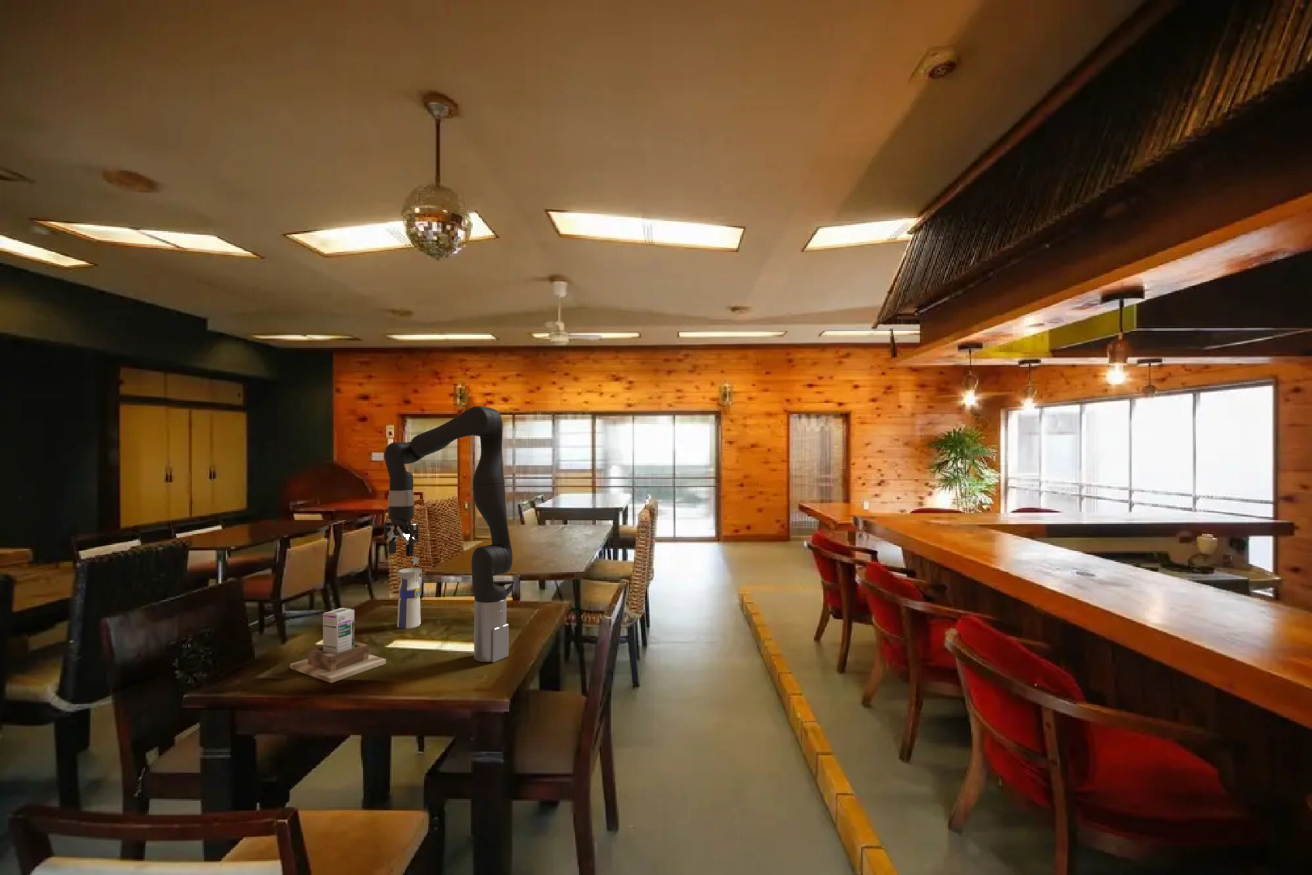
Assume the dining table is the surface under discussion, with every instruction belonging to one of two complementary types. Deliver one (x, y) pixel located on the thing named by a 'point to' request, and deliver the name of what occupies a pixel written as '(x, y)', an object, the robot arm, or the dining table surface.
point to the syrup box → (338, 630)
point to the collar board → (337, 663)
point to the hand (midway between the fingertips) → (400, 554)
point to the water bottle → (409, 597)
